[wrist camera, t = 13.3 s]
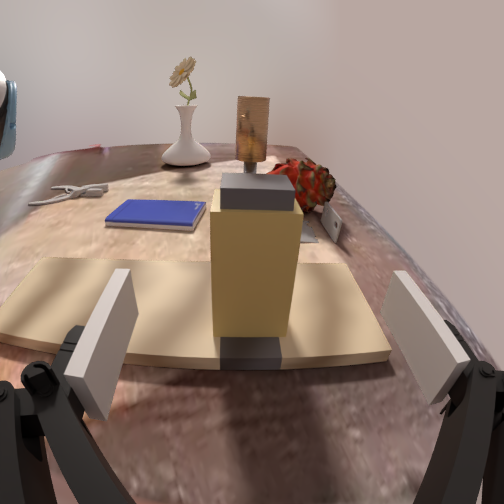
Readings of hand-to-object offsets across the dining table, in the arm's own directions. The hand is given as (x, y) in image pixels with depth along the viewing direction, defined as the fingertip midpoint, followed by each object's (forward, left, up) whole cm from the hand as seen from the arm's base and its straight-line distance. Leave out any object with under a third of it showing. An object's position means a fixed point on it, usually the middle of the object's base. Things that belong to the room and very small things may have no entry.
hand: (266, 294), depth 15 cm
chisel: (0, +13, -6) cm, 14 cm away
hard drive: (-12, +28, -8) cm, 31 cm away
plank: (-6, +8, -7) cm, 12 cm away
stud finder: (0, +5, -6) cm, 8 cm away
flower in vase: (-12, +58, -8) cm, 60 cm away
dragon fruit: (+7, +31, -8) cm, 33 cm away
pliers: (-32, +38, -8) cm, 50 cm away
